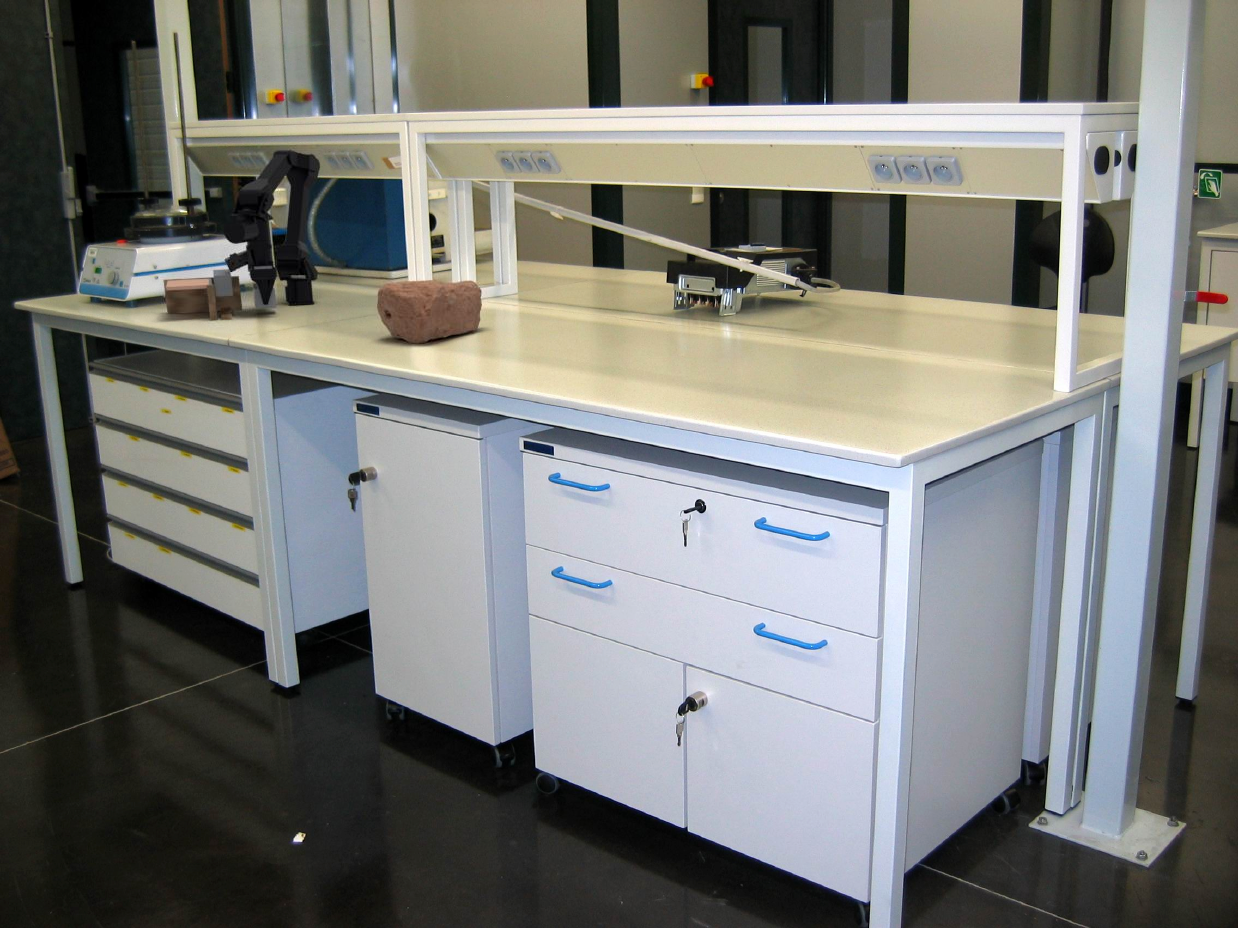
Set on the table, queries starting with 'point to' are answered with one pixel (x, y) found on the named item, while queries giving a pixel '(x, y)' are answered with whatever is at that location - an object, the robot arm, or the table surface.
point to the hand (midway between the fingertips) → (265, 303)
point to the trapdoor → (206, 283)
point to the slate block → (259, 301)
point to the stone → (429, 309)
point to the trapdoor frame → (203, 300)
